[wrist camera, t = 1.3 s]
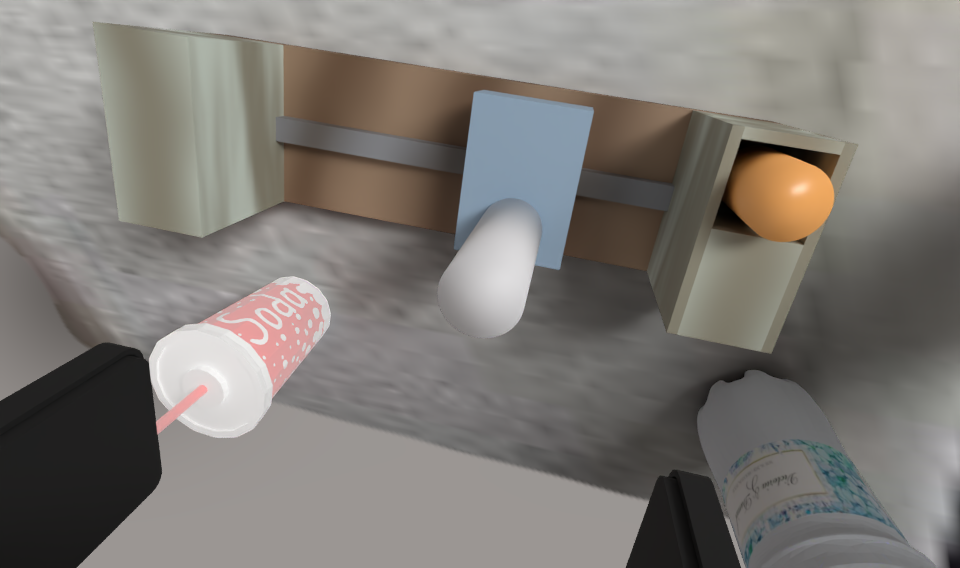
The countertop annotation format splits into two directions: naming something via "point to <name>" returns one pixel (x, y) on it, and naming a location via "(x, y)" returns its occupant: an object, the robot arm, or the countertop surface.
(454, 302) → the carriage
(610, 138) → the rail stand
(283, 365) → the beverage cup
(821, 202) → the button
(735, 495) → the bottle
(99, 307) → the countertop surface
